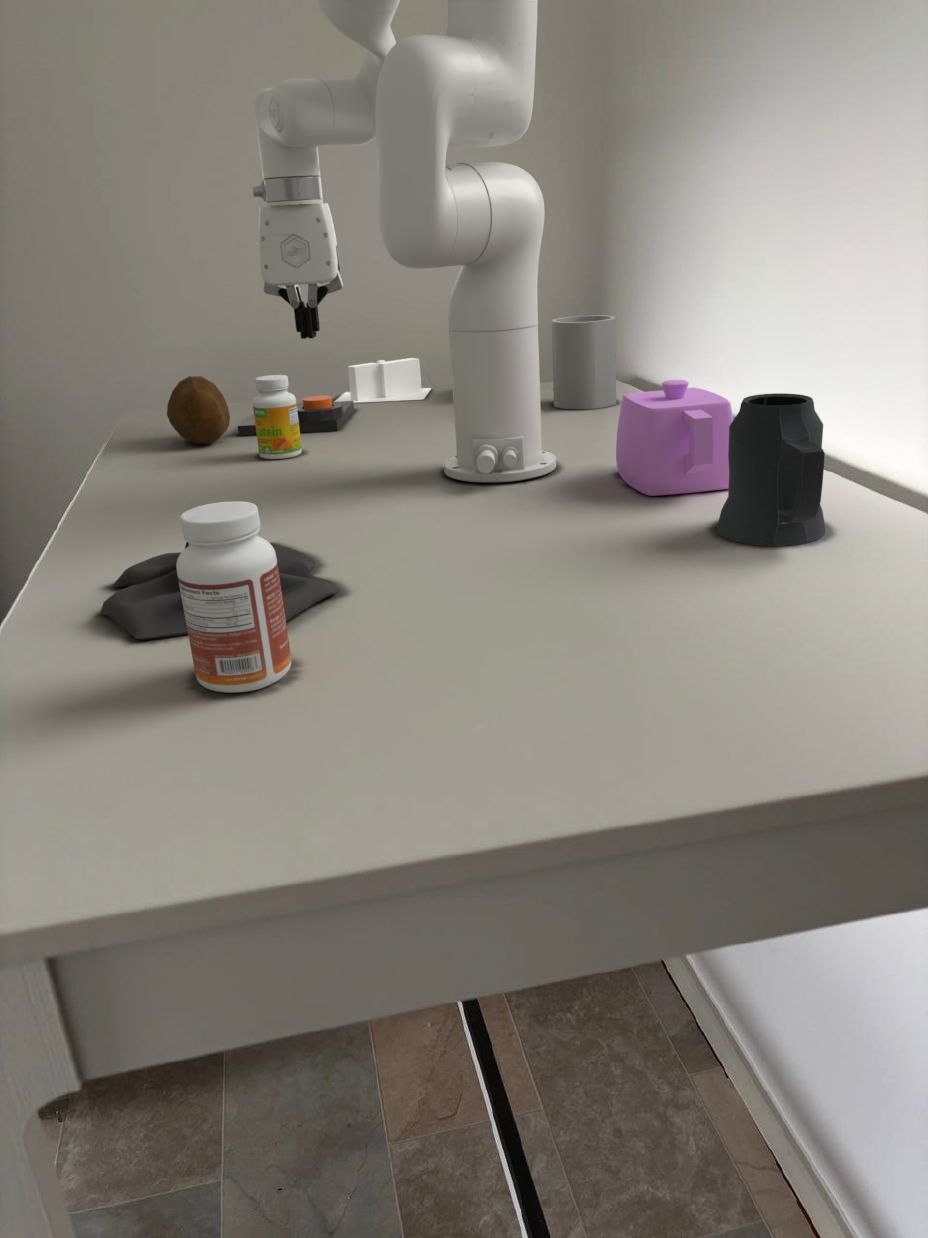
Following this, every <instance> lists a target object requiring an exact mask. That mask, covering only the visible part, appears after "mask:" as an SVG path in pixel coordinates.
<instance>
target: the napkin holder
mask: <svg viewBox="0 0 928 1238" xmlns="http://www.w3.org/2000/svg"><path fill="white" fill-rule="evenodd" d="M420 364H421V363H420V358H417V357H408V358H402V359H394V360H387V361H386V359H379V360H376V362H366V363H361V364H360V363H359V364H354V365H347V374H348V375H347V376H348V383H349V384H348V385H349V391H344V393H342V394H341V395H340V396H339V397H338V398H337V399H335V400H334V401H333V402H341V401H353V402H354V404H357V403H376V402H377V403H378V402H379V403H380V402H399V401H401V402H402V401H418V400H419V401H420V400H421V401H422V400H425V398H426V397H427V395H428V394H429V392H430V391H431V390H432V387H422V377H421V365H420Z"/></svg>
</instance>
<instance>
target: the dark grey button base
mask: <svg viewBox="0 0 928 1238" xmlns="http://www.w3.org/2000/svg"><path fill="white" fill-rule="evenodd" d="M296 404H297V412H298V420H299V429H300V434H302V433H303V434H304V433H323V432H338V431H339V430H340V428H341V427H342V426H343V425H344V423H345V422H346V421H347V420H348V419H349V418H350V416H351V415H352V414H353V412H354V411H355V403H354V402H353V401H341V402H334V401H332V407H330V408H325V409H315V410H307V409H304V407H303V403H296ZM237 430H238V431H237V432H238V436H239V437H243V436H244V437H245V436H257V433H256V425H255V418H254V413H252V414H251V415H250V416H249V417H247V418H246V419H245V420H243V421H242V422H241V423H240V424H239V425H237Z"/></svg>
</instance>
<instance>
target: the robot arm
mask: <svg viewBox="0 0 928 1238" xmlns="http://www.w3.org/2000/svg"><path fill="white" fill-rule="evenodd" d="M538 1H539V0H447V27H446V35H445V34H443V35H442V34H415V35H410V36H406V37H405V38H402V39H400V40H399V41H398V42H397V41H396V38H395V35H394V33H393V31H392V27H391V23H392V21H393V19H394V17H395V14H396V12H397V9H398V8H399V5H400V2H401V0H317V2H318V7H319V8H320V10H321V13H322V14H323V16H324V18H325V19H326V21H328V23H329V24H331V26H332V27H333V28H335V29H336V31H338V32H339V33H341V34H342V35H343V36H345V37H346V38H348V39H349V40H351V41H353V42H354V43H356V44H357V45H359V46H360V47H362V48H364V49H365V54H364V56H363V59H362V62H361V64H360V66H359V69H358V72H357V73H356V75H355V77H354V78H336V77H335V78H332V77H331V78H330V77H329V78H328V77H327V78H326V77H315V78H313V77H311V78H309V77H308V78H307V77H291V78H286V79H283V80H281V81H279V82H277V83H276V84H275V85H274V86H273V87H267V88H262V89H260V90H258V91H257V92H256V94H255V96H254V100H253V109H254V116H255V125H256V126H255V127H256V134H257V135H256V136H257V143H258V152H259V160H260V168H261V177H262V179H261V183H260V184H258V185H254V186H252V193H253V197H254V198H260V199H262V200H263V203H264V202H265V206H259V209H258V246H259V247H258V250H259V264H260V272H261V273H260V274H261V278H262V282H264V284H263V293H265V294H266V295H269V296H270V295H271V296H275V297H280V298H282V299H283V300H284V301H285V302H286V303H288V305H289V306H290V307H291V308H292V309H293V313H294V314H293V315H294V322H295V330H296V333H300V339H301V340H306V339H307V338H309V339H314V338H316V337H317V332H320V330H321V329H320V326H321V325H320V316H319V309H318V306H319V305H320V304H321V302H322V301H323V300H324V299H325V297H326V296H327V295H329V294H332V293H335V292H338V291H341V290H343V288H344V283H343V279H342V277H341V262H340V254H339V248H338V241H337V236H336V230H335V226H334V220H333V215H332V212H331V208H330V205H329V203H328V202H325V203H324V197H323V188H322V178H321V166H320V157H319V156H320V155H319V148H322V147H356V146H363V145H367V144H369V143H370V142H371V141H373V140H374V139H375V144H376V145H375V150H376V151H375V152H376V155H375V156H376V186H377V187H376V190H377V191H376V192H377V194H376V195H377V196H376V197H377V215H378V216H377V217H378V225H379V230H380V236H381V239H382V242H383V244H384V247H385V249H386V251H387V253H388V254H389V256H390V257H391V258H392V259H393V261H395V262H396V263H397V264H399V265H400V266H403V267H405V268H408V269H416V270H421V269H434V268H435V269H436V268H445V267H446V268H447V267H456V266H461V267H460V269H459V272H458V274H457V277H456V279H455V282H454V285H453V287H452V290H451V293H450V297H449V301H448V302H449V303H448V312H447V313H448V314H447V315H448V333H449V334H448V336H449V337H448V338H449V349H450V350H449V351H450V352H449V353H450V366H451V367H450V368H451V383H452V399H453V413H454V416H453V417H454V429H455V431H454V432H455V446H456V447H455V448H456V454H455V455H453V456H451V457H449V458H447V459H446V460H445V461H444V462H443V471H444V474H445V475H446V476H447V477H449V478H451V479H452V480H453V479H454V480H458V481H461V482H466V483H467V482H469V483H484V484H488V483H489V484H491V483H495V484H496V483H509V482H520V481H526V480H530V479H531V480H532V479H534V478H539V477H542V476H545V475H548V474H550V473H552V472H553V471H554V470H555V469H556V468H557V457H556V455H555V454H554V453H552V452H550V451H547V450H543V441H542V411H541V410H542V409H541V408H542V407H541V405H542V404H541V378H540V347H539V310H538V309H539V308H538V307H539V306H538V283H539V282H538V278H539V264H540V263H539V262H540V254H541V246H542V240H543V234H544V226H545V214H546V211H545V201H544V196H543V193H542V190H541V188H540V185H539V183H538V182H537V180H536V179H535V178H534V177H533V176H532V175H531V174H530V173H529V172H528V171H527V170H526V169H523V168H521V167H520V166H517V165H515V164H511V163H506V162H499V161H479V162H478V161H477V162H458V163H446V162H447V151H448V149H472V148H491V147H502V146H507V145H510V144H513V143H515V142H517V141H518V140H520V139H521V138H522V137H523V136H524V135H525V134H526V132H527V131H528V129H529V126H530V123H531V121H532V116H533V110H534V109H533V108H534V100H535V99H534V98H535V83H536V60H537V59H536V56H537V34H538V32H537V31H538V3H539V2H538ZM322 284H323V285H322ZM300 285H303V286H304V285H307V302H306V303H305V301H303V297H302V293H301V290H300Z"/></svg>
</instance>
